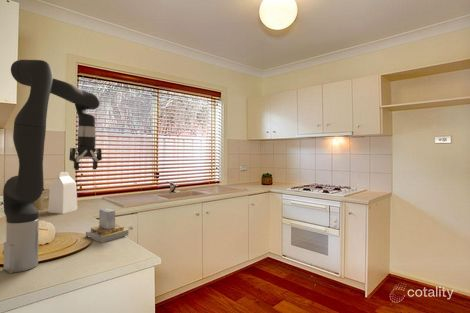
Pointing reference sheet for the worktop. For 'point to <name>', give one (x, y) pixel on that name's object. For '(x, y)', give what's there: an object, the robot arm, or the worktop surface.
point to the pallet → (107, 230)
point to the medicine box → (107, 218)
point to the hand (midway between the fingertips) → (86, 169)
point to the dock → (107, 237)
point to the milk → (62, 194)
